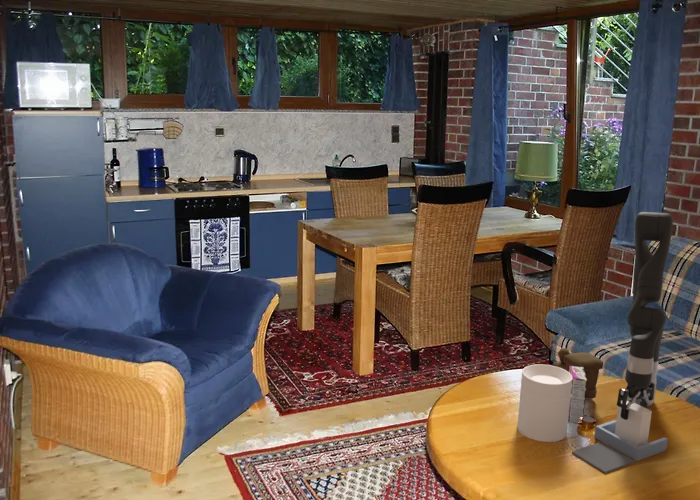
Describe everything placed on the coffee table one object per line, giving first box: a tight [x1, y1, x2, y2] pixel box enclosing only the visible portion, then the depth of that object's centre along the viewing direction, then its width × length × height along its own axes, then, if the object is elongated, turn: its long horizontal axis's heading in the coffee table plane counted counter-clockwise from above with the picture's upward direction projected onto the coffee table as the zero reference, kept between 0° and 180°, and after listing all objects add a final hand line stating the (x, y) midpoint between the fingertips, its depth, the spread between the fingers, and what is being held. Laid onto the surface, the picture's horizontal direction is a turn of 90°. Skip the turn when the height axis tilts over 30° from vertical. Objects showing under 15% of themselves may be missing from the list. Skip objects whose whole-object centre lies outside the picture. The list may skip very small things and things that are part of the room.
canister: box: [517, 363, 572, 443], centre depth 227 cm, size 16×16×20 cm
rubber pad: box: [571, 441, 636, 474], centre depth 213 cm, size 13×13×1 cm
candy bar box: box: [568, 366, 587, 424], centre depth 237 cm, size 11×5×16 cm, turn 168°
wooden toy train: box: [552, 347, 604, 400], centre depth 254 cm, size 20×11×17 cm, turn 22°
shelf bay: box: [594, 419, 669, 462], centre depth 221 cm, size 14×16×4 cm
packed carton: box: [614, 401, 653, 447], centre depth 220 cm, size 4×9×13 cm, turn 29°
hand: (633, 416), depth 219 cm, fingers open, 8 cm apart
